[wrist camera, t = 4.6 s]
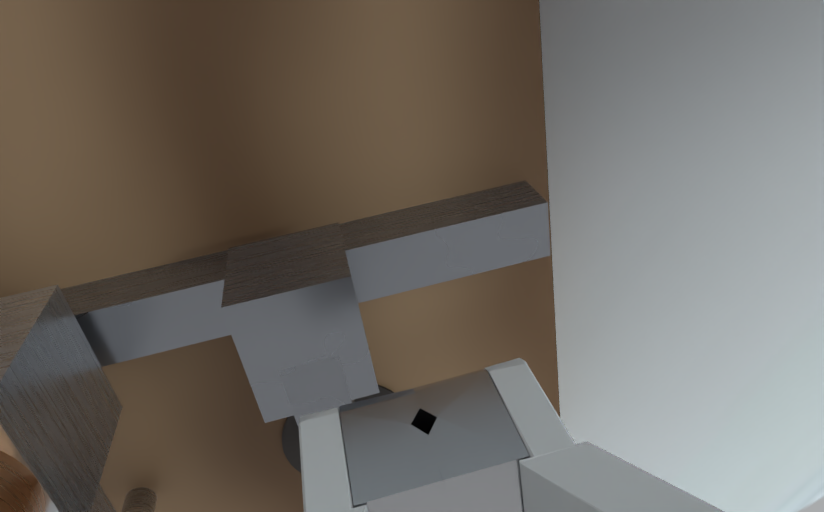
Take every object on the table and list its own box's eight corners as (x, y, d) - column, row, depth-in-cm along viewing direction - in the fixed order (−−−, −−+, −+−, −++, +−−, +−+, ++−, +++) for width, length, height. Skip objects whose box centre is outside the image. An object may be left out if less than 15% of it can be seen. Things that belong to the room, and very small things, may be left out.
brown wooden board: (492, -145, 12) (533, -159, 10) (537, 443, 20) (564, 495, 18) (-1094, 134, 9) (-1427, 185, 7) (-309, 680, 17) (-377, 769, 15)
